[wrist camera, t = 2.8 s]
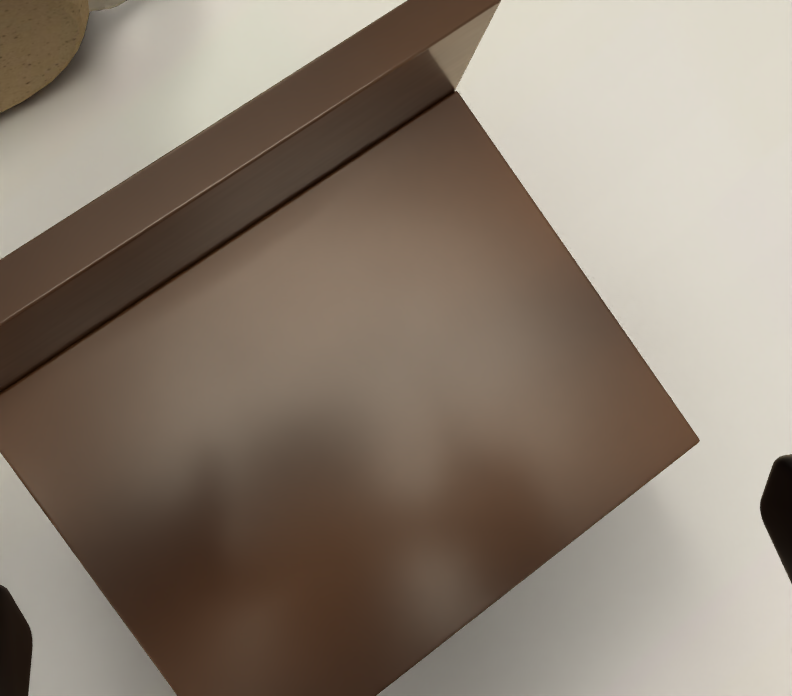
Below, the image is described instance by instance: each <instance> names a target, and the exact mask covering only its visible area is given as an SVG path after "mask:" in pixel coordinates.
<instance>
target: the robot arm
mask: <svg viewBox="0 0 792 696" xmlns="http://www.w3.org/2000/svg"><path fill="white" fill-rule="evenodd" d="M760 511H761V516H762V520H763V522H764V525H765V527H766V529H767V531H768V533H769V536H770V538H771V540H772V542H773V544H774V546H775V549H776V551H777V553H778V555H779V557H780V559H781V561H782V564H783V566H784V568H785V570H786V572H787V574H788V577H789V579H790V581H791V583H792V454H790V455H784V456H781V457H779V458H778V459H776V460H775V462H774V463H773V466H772V469H771V472H770V474H769V477H768V480H767V483H766V486H765V489H764V492H763V495H762V498H761V502H760ZM32 646H33V644H32V634H31V630H30V627H29V625H28V623H27V621H26V620H25V618H24V616H23V614H22V613H21V611H20V609H19V608H18V606H17V604H16V603H15V601H14V599H13V597H12V596H11V594H10V592H9V591H8V590H7V588H5V587H4V586H2V585H0V696H28V691H29V680H30V669H31V658H32Z"/></svg>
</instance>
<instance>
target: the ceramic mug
mask: <svg viewBox="0 0 792 696" xmlns="http://www.w3.org/2000/svg"><path fill="white" fill-rule="evenodd" d="M125 1H127V0H0V113H1V112H3V111H5V110H7V109H9V108H11V107H13V106H15V105H17V104H19V103H21V102H22V101H24V100H26V99H28V98H29V97H30V96H32V95H33V94H35V93H36V92H38V91H39V90H41V89H42V88H43V87H45V86H46V85H48V84H49V83H51V82H52V81H53V80H54V79H55V78H56V77H57V76H58V75H59V74H60V73H61V72H62V71H63V70H64V69H65V68H66V67H67V65H68V64H69V62H70V61H71V59H72V58H73V56H74V55H75V54H76V52H77V51H78V49H79V46H80V44H81V42H82V39H83V37H84V33H85V29H86V25H87V21H88V17H89V12H91V11H97V10H103V9H110V8H113V7H117V6H118V5H120V4H122V3H123V2H125Z"/></svg>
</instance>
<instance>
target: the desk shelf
mask: <svg viewBox="0 0 792 696" xmlns="http://www.w3.org/2000/svg"><path fill="white" fill-rule="evenodd" d="M500 2H501V0H407V1H406V2H404V3H403V4H401V5H399V6H398V7H396V8H395V9H393V10H392V11H390V12H388V13H387V14H385V15H384V16H382V17H381V18H379V19H377V20H376V21H374V22H373V23H371V24H370V25H368V26H366V27H365V28H363V29H362V30H360V31H359V32H357V33H355V34H354V35H352V36H351V37H349V38H348V39H346V40H344V41H343V42H341V43H340V44H338V45H337V46H335V47H333V48H332V49H330V50H329V51H327V52H326V53H324V54H323V55H321V56H319V57H318V58H316V59H315V60H313V61H312V62H310V63H308V64H307V65H305V66H304V67H302V68H301V69H299V70H297V71H296V72H294V73H293V74H291V75H290V76H288V77H286V78H285V79H283V80H282V81H280V82H279V83H277V84H275V85H274V86H272V87H271V88H269V89H268V90H266V91H264V92H263V93H261V94H260V95H258V96H257V97H255V98H253V99H252V100H250V101H249V102H247V103H246V104H244V105H242V106H241V107H239V108H238V109H236V110H235V111H233V112H231V113H230V114H228V115H227V116H225V117H224V118H222V119H220V120H219V121H217V122H216V123H214V124H213V125H211V126H209V127H208V128H206V129H205V130H203V131H202V132H200V133H198V134H197V135H195V136H194V137H192V138H191V139H189V140H187V141H186V142H184V143H183V144H181V145H180V146H178V147H176V148H175V149H173V150H172V151H170V152H169V153H167V154H165V155H164V156H162V157H161V158H159V159H158V160H156V161H155V162H153V163H151V164H150V165H148V166H147V167H145V168H144V169H142V170H140V171H139V172H137V173H136V174H134V175H133V176H131V177H129V178H128V179H126V180H125V181H123V182H122V183H120V184H118V185H117V186H115V187H114V188H112V189H111V190H109V191H107V192H106V193H104V194H103V195H101V196H100V197H98V198H96V199H95V200H93V201H92V202H90V203H89V204H87V205H85V206H84V207H82V208H81V209H79V210H78V211H76V212H74V213H73V214H71V215H70V216H68V217H67V218H65V219H63V220H62V221H60V222H59V223H57V224H56V225H54V226H52V227H51V228H49V229H48V230H46V231H45V232H43V233H41V234H40V235H38V236H37V237H35V238H34V239H32V240H30V241H29V242H27V243H26V244H24V245H23V246H21V247H19V248H18V249H16V250H15V251H13V252H12V253H10V254H8V255H7V256H5V257H4V258H2V259H1V260H0V452H1V454H2V455H3V457H4V458H5V459H6V461H7V462H8V463H9V465H10V466H11V468H12V469H13V470H14V472H15V473H16V474H17V476H18V477H19V479H20V480H21V481H22V483H23V484H24V485H25V487H26V488H27V490H28V491H29V492H30V494H31V495H32V496H33V498H34V499H35V501H36V502H37V503H38V505H39V506H40V507H41V509H42V510H43V512H44V513H45V514H46V516H47V517H48V518H49V520H50V521H51V523H52V524H53V525H54V527H55V528H56V530H57V531H58V532H59V534H60V535H61V536H62V538H63V539H64V541H65V542H66V543H67V545H68V546H69V547H70V549H71V550H72V552H73V553H74V554H75V556H76V557H77V558H78V560H79V561H80V563H81V564H82V565H83V567H84V568H85V569H86V571H87V572H88V574H89V575H90V576H91V578H92V579H93V580H94V582H95V583H96V585H97V586H98V587H99V589H100V590H101V591H102V593H103V594H104V596H105V597H106V598H107V600H108V601H109V602H110V604H111V605H112V607H113V608H114V609H115V611H116V612H117V613H118V615H119V616H120V618H121V619H122V620H123V622H124V623H125V624H126V626H127V627H128V629H129V630H130V631H131V633H132V634H133V635H134V637H135V638H136V640H137V641H138V642H139V644H140V645H141V646H142V648H143V649H144V651H145V652H146V653H147V655H148V656H149V657H150V659H151V660H152V662H153V663H154V664H155V666H156V667H157V668H158V670H159V671H160V673H161V674H162V675H163V677H164V678H165V679H166V681H167V682H168V684H169V685H170V686H171V688H172V689H173V690H174V692H175V693H176V695H177V696H376V695H377V694H379V693H380V692H381V691H383V690H384V689H385V688H386V687H388V686H389V685H390V684H391V683H393V682H394V681H395V680H397V679H398V678H399V677H400V676H402V675H403V674H404V673H405V672H407V671H408V670H409V669H411V668H412V667H413V666H414V665H416V664H417V663H418V662H420V661H421V660H422V659H423V658H425V657H426V656H427V655H428V654H430V653H431V652H432V651H434V650H435V649H436V648H437V647H439V646H440V645H441V644H442V643H444V642H445V641H446V640H448V639H449V638H450V637H451V636H453V635H454V634H455V633H456V632H458V631H459V630H460V629H462V628H463V627H464V626H465V625H467V624H468V623H469V622H470V621H472V620H473V619H474V618H476V617H477V616H478V615H479V614H481V613H482V612H483V611H485V610H486V609H487V608H488V607H490V606H491V605H492V604H493V603H495V602H496V601H497V600H499V599H500V598H501V597H502V596H504V595H505V594H506V593H507V592H509V591H510V590H511V589H513V588H514V587H515V586H516V585H518V584H519V583H520V582H521V581H523V580H524V579H525V578H527V577H528V576H529V575H530V574H532V573H533V572H534V571H535V570H537V569H538V568H539V567H541V566H542V565H543V564H544V563H546V562H547V561H548V560H550V559H551V558H552V557H553V556H555V555H556V554H557V553H558V552H560V551H561V550H562V549H564V548H565V547H566V546H567V545H569V544H570V543H571V542H572V541H574V540H575V539H576V538H578V537H579V536H580V535H581V534H583V533H584V532H585V531H586V530H588V529H589V528H590V527H592V526H593V525H594V524H595V523H597V522H598V521H599V520H600V519H602V518H603V517H604V516H606V515H607V514H608V513H609V512H611V511H612V510H613V509H615V508H616V507H617V506H618V505H620V504H621V503H622V502H623V501H625V500H626V499H627V498H629V497H630V496H631V495H632V494H634V493H635V492H636V491H637V490H639V489H640V488H641V487H643V486H644V485H645V484H646V483H648V482H649V481H650V480H651V479H653V478H654V477H655V476H657V475H658V474H659V473H660V472H662V471H663V470H664V469H666V468H667V467H668V466H669V465H671V464H672V463H673V462H674V461H676V460H677V459H678V458H680V457H681V456H682V455H683V454H685V453H686V452H687V451H688V450H690V449H691V448H692V447H694V446H695V445H696V444H697V443H699V441H700V440H699V438H698V437H697V435H696V434H695V432H694V431H693V430H692V428H691V427H690V425H689V424H688V422H687V421H686V419H685V418H684V417H683V415H682V414H681V412H680V411H679V409H678V408H677V407H676V405H675V404H674V402H673V401H672V399H671V398H670V396H669V395H668V394H667V392H666V391H665V389H664V388H663V386H662V385H661V384H660V382H659V381H658V379H657V378H656V376H655V375H654V373H653V372H652V371H651V369H650V368H649V366H648V365H647V363H646V362H645V361H644V359H643V358H642V356H641V355H640V353H639V352H638V350H637V349H636V348H635V346H634V345H633V343H632V342H631V340H630V339H629V337H628V336H627V335H626V333H625V332H624V330H623V329H622V327H621V326H620V325H619V323H618V322H617V320H616V319H615V317H614V316H613V314H612V313H611V312H610V310H609V309H608V307H607V306H606V304H605V303H604V302H603V300H602V299H601V297H600V296H599V294H598V293H597V291H596V290H595V289H594V287H593V286H592V284H591V283H590V281H589V280H588V279H587V277H586V276H585V274H584V273H583V271H582V270H581V268H580V267H579V266H578V264H577V263H576V261H575V260H574V258H573V257H572V256H571V254H570V253H569V251H568V250H567V248H566V247H565V245H564V244H563V243H562V241H561V240H560V238H559V237H558V235H557V234H556V233H555V231H554V230H553V228H552V227H551V225H550V224H549V222H548V221H547V220H546V218H545V217H544V215H543V214H542V212H541V211H540V210H539V208H538V207H537V205H536V204H535V202H534V201H533V199H532V198H531V197H530V195H529V194H528V192H527V191H526V189H525V188H524V187H523V185H522V184H521V182H520V181H519V179H518V178H517V176H516V175H515V174H514V172H513V171H512V169H511V168H510V166H509V165H508V164H507V162H506V161H505V159H504V158H503V156H502V155H501V153H500V152H499V151H498V149H497V148H496V146H495V145H494V143H493V142H492V141H491V139H490V138H489V136H488V135H487V133H486V132H485V130H484V129H483V128H482V126H481V125H480V123H479V122H478V120H477V119H476V118H475V116H474V115H473V113H472V112H471V110H470V109H469V107H468V106H467V105H466V103H465V102H464V100H463V99H462V97H461V96H460V95H459V93H458V92H457V91H455V89H456V87H457V85H458V83H459V81H460V79H461V78H462V76H463V74H464V72H465V70H466V68H467V66H468V64H469V62H470V60H471V58H472V56H473V54H474V52H475V50H476V48H477V46H478V44H479V42H480V41H481V39H482V37H483V35H484V33H485V31H486V29H487V27H488V25H489V23H490V21H491V19H492V17H493V15H494V13H495V11H496V9H497V7H498V5H499V4H500Z"/></svg>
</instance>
